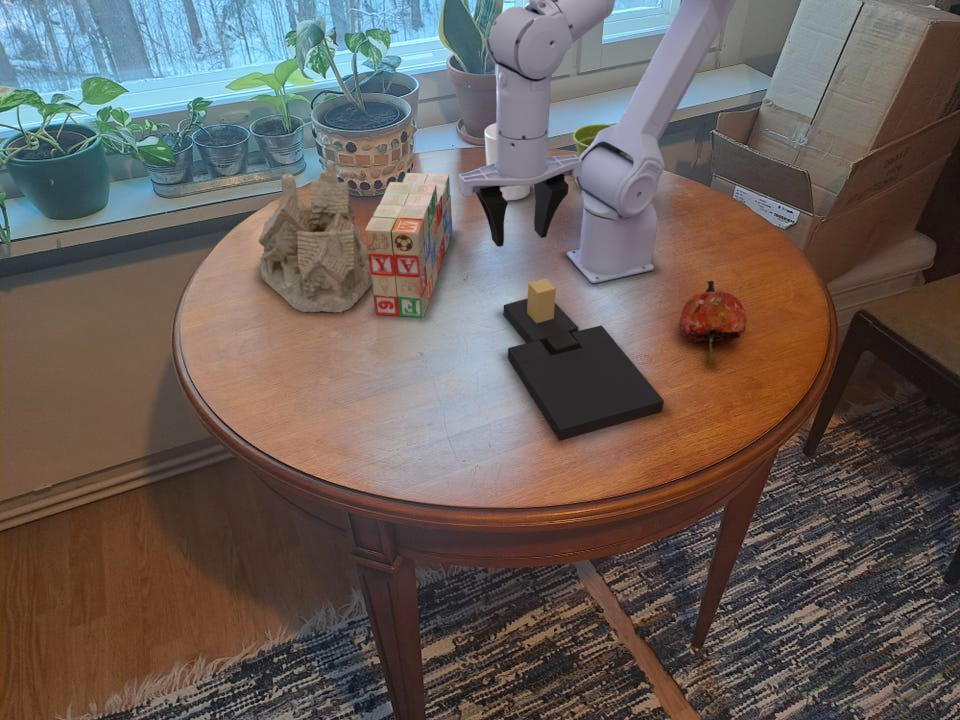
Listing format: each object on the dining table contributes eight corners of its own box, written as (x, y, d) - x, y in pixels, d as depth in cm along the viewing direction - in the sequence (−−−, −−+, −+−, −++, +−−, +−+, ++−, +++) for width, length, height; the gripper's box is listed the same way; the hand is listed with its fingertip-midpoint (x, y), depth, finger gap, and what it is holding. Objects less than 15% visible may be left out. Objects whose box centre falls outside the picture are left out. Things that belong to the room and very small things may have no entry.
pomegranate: (740, 374, 83) (748, 294, 85) (744, 359, 76) (753, 272, 78) (675, 368, 85) (684, 289, 87) (673, 352, 78) (684, 268, 80)
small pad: (588, 349, 83) (593, 308, 79) (543, 364, 81) (546, 322, 77) (545, 303, 90) (547, 263, 86) (503, 315, 88) (503, 274, 85)
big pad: (661, 411, 75) (664, 400, 74) (559, 441, 72) (560, 429, 71) (600, 335, 85) (601, 325, 84) (507, 358, 82) (507, 347, 81)
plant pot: (612, 206, 110) (619, 153, 104) (559, 191, 114) (562, 139, 108) (636, 183, 116) (644, 131, 110) (585, 169, 120) (589, 119, 114)
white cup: (488, 179, 118) (488, 120, 111) (535, 181, 117) (538, 122, 110) (481, 201, 112) (481, 140, 105) (531, 204, 111) (534, 142, 104)
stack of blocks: (411, 230, 105) (405, 151, 97) (453, 233, 104) (450, 153, 96) (375, 315, 89) (363, 228, 81) (424, 319, 88) (417, 231, 80)
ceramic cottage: (278, 241, 102) (258, 145, 92) (389, 255, 100) (380, 158, 90) (233, 309, 91) (204, 208, 81) (356, 326, 89) (342, 225, 79)
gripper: (566, 108, 82) (559, 212, 91) (448, 125, 79) (452, 233, 87) (594, 130, 77) (583, 239, 86) (469, 150, 74) (471, 262, 82)
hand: (519, 238), depth 86 cm, fingers open, 5 cm apart
